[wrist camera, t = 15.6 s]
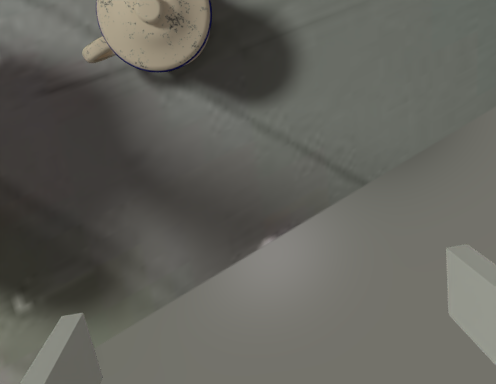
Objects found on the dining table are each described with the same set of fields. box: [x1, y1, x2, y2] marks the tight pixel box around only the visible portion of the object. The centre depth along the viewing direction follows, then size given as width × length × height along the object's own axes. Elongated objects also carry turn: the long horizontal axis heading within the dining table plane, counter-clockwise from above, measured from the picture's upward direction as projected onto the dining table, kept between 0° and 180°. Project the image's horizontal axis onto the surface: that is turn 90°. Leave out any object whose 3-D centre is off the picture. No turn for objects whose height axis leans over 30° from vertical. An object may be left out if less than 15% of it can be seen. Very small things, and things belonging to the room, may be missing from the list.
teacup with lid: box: [82, 0, 212, 72], centre depth 38 cm, size 12×9×12 cm
